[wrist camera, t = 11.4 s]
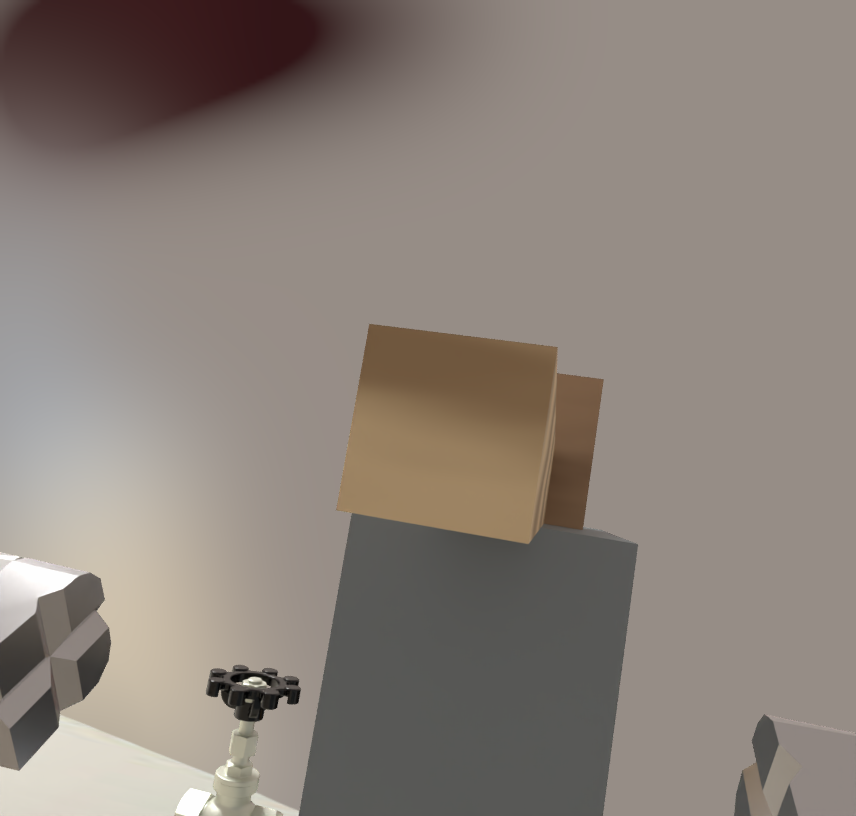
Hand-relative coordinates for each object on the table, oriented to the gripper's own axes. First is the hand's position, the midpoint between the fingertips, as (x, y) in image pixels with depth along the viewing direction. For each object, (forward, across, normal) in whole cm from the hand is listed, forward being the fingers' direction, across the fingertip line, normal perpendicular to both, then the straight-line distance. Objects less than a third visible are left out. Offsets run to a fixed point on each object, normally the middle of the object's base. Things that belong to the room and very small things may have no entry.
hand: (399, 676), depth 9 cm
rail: (+16, -1, -8) cm, 18 cm away
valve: (+22, -17, -41) cm, 50 cm away
